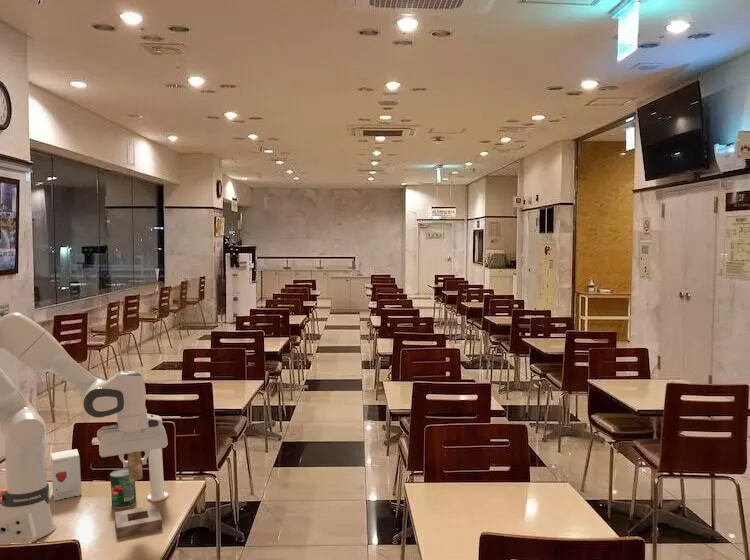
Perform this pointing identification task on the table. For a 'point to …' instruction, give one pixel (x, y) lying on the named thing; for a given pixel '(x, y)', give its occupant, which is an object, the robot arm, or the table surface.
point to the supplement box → (66, 474)
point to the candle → (156, 476)
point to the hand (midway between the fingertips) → (135, 465)
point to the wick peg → (135, 466)
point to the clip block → (138, 520)
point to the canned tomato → (122, 489)
